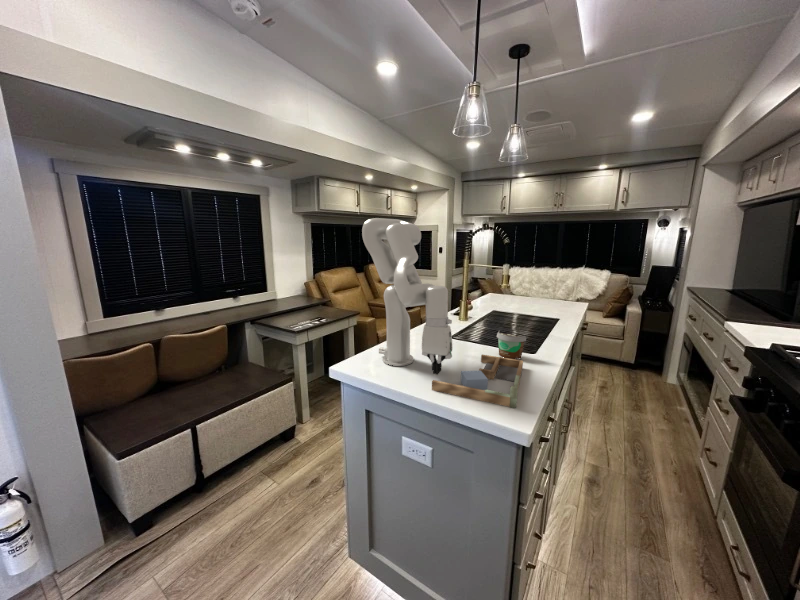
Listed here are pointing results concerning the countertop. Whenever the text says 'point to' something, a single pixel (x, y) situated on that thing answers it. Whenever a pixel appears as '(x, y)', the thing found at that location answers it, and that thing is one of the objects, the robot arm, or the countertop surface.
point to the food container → (510, 345)
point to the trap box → (506, 371)
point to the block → (474, 379)
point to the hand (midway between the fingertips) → (436, 372)
